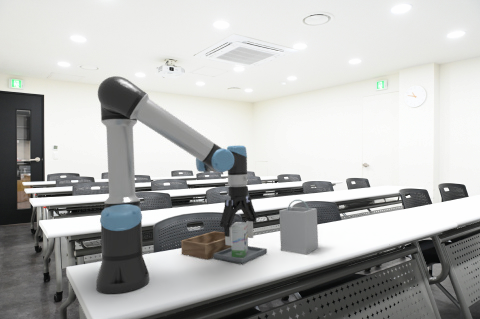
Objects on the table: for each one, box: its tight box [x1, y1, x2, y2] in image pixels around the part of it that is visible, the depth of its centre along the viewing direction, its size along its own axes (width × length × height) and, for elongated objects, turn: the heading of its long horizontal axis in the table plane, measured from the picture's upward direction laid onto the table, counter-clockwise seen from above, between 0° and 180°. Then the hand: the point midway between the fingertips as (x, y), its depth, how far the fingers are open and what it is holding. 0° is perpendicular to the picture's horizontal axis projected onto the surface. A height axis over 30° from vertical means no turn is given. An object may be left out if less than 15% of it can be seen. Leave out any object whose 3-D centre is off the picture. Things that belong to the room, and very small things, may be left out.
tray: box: [212, 245, 267, 265], centre depth 124 cm, size 16×14×2 cm
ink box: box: [230, 221, 249, 257], centre depth 124 cm, size 9×5×12 cm, turn 168°
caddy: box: [278, 206, 319, 255], centre depth 131 cm, size 11×11×16 cm
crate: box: [180, 231, 232, 260], centre depth 133 cm, size 20×14×6 cm
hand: (240, 241), depth 124 cm, fingers open, 13 cm apart
